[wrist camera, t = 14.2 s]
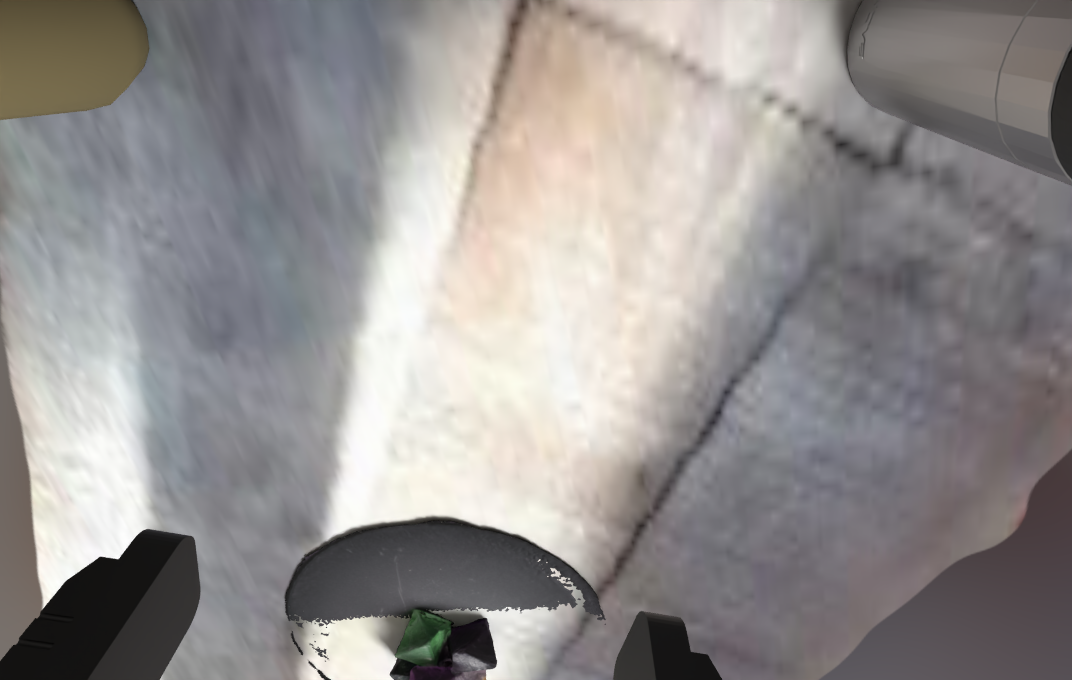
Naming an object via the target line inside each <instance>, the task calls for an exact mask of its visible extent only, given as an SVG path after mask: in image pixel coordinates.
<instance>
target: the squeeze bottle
mask: <svg viewBox="0 0 1072 680" xmlns="http://www.w3.org/2000/svg"><path fill="white" fill-rule="evenodd" d="M148 52H149V43H148V35H147V28H146V26H145V24H144V22H143V20H142V18H141V16H140V13H139V11H138V9H137V7H136V6H135V5H134V4H133V2H132V1H131V0H0V120H4V119H13V118H23V117H32V116H41V115H50V114H59V113H69V112H78V111H87V110H91V109H95V108H99V107H103V106H107V105H111V104H112V103H113V102H114V101H115V100H116V99H117V98H118V97H119V96H120V95H121V94H122V93H123V92H124V91H125V90H126V89H127V88H128V87H129V85H130V84H131V83H132V81H133V80H134V79H135V78H136V76H137V75H138V74H139V73H140V71H141V70H142V69H143V68H144V66H145V63H146V59H147V56H148Z"/></svg>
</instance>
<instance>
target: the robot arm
mask: <svg viewBox="0 0 1072 680" xmlns="http://www.w3.org/2000/svg"><path fill="white" fill-rule="evenodd" d="M847 55H848V68H849V72H850V75H851V78H852V82H853V84H854V86H855V87H856V89H857V90H858V92H859V94H860V95H861V96H862V97H863V98H864V99H865V100H866V101H867V102H868V103H869V104H870V105H871V106H873V107H875V108H877V109H879V110H881V111H883V112H885V113H888V114H890V115H893V116H895V117H898V118H900V119H903V120H905V121H908V122H910V123H912V124H915V125H917V126H920V127H922V128H925V129H927V130H930V131H932V132H935V133H937V134H940V135H943V136H945V137H948V138H950V139H953V140H955V141H958V142H960V143H963V144H966V145H968V146H971V147H973V148H976V149H978V150H981V151H983V152H986V153H989V154H991V155H994V156H996V157H999V158H1001V159H1004V160H1006V161H1009V162H1012V163H1014V164H1017V165H1019V166H1022V167H1024V168H1027V169H1029V170H1032V171H1035V172H1037V173H1040V174H1043V175H1045V176H1048V177H1051V178H1053V179H1056V180H1059V181H1061V182H1064V183H1066V184H1069V185H1071V186H1072V0H863V1H862V3H861V5H860V7H859V9H858V11H857V12H856V15H855V18H854V21H853V24H852V27H851V30H850V34H849V41H848V49H847ZM199 599H200V580H199V572H198V563H197V554H196V545H195V540H194V538H193V537H192V536H188V535H181V534H175V533H169V532H163V531H157V530H151V529H146V530H143V531H142V532H140V533H139V534H138V535H137V536H136V537H135V538H134V540H133V541H132V542H131V544H130V545H129V546H128V548H127V549H126V550H125V551H124V553H123V554H122V555H121V557H120V558H119V559H112V558H106V557H99V558H98V559H96V560H95V561H94V562H92V563H91V564H89V565H88V566H87V567H85V568H84V569H82V570H81V571H79V572H78V573H77V574H75V575H74V576H72V577H71V578H70V579H68V580H67V581H66V582H65V583H64V584H63V585H62V586H61V588H60V589H59V590H58V591H57V593H56V594H55V595H54V596H53V597H52V599H51V600H50V601H49V602H48V603H47V605H46V606H45V607H44V608H43V610H42V611H41V613H40V616H39V617H38V618H37V619H36V618H35V619H34V621H33V622H32V623H31V624H30V625H29V627H28V628H27V629H26V630H25V632H24V633H23V634H22V635H21V636H20V638H19V641H18V643H17V644H16V645H13V646H12V647H11V649H10V650H9V651H8V652H7V653H6V655H5V656H4V657H3V658H2V660H1V661H0V680H160V678H161V676H162V674H163V673H164V671H165V669H166V667H167V666H168V664H169V662H170V660H171V659H172V657H173V655H174V653H175V652H176V650H177V648H178V646H179V645H180V643H181V641H182V639H183V638H184V636H185V634H186V632H187V631H188V629H189V627H190V625H191V623H192V621H193V618H194V616H195V613H196V610H197V607H198V604H199ZM613 680H722V678H721V677H720V675H719V673H718V671H717V670H716V668H715V666H714V665H713V663H712V661H711V660H710V658H709V656H708V655H707V654H700V653H694V652H691V651H690V646H689V641H688V636H687V631H686V627H685V624H684V622H683V620H682V619H681V618H680V617H674V616H668V615H662V614H656V613H650V612H644V611H641V612H639V613H638V615H637V616H636V618H635V621H634V623H633V625H632V627H631V629H630V631H629V633H628V635H627V637H626V640H625V642H624V644H623V646H622V648H621V650H620V652H619V654H618V657H617V660H616V664H615V669H614V678H613Z"/></svg>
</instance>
